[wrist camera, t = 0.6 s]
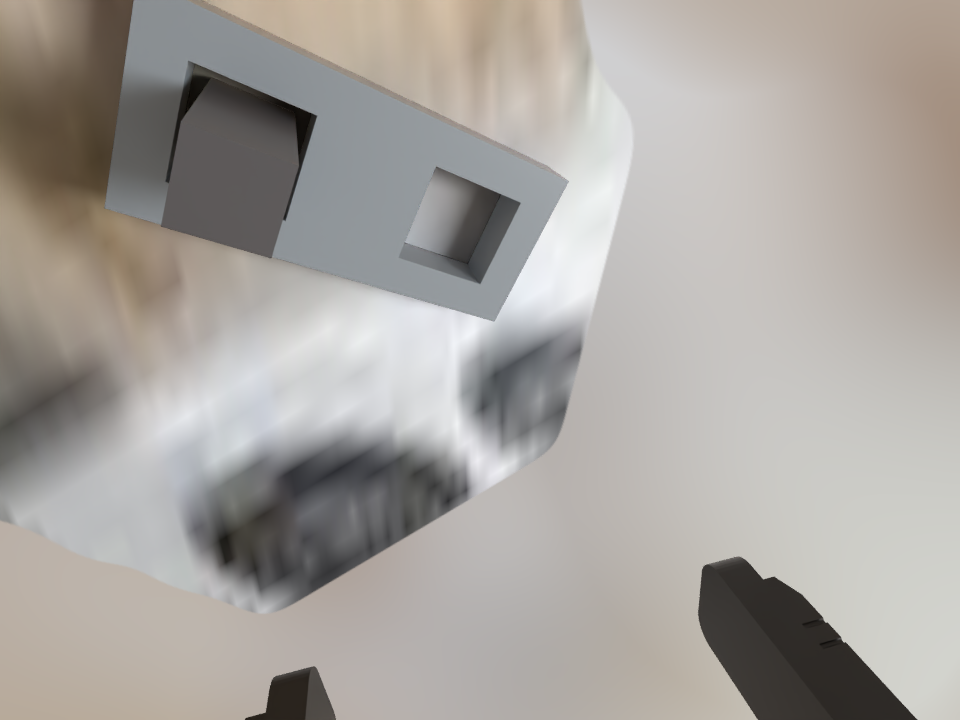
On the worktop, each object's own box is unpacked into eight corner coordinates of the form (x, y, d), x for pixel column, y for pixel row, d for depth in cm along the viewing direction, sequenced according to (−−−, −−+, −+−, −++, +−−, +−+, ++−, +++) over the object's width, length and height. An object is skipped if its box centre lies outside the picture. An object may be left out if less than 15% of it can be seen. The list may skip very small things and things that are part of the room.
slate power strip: (119, 188, 28) (55, 272, 20) (151, -24, 23) (85, -23, 16) (481, 300, 38) (531, 384, 30) (549, 167, 34) (628, 224, 26)
